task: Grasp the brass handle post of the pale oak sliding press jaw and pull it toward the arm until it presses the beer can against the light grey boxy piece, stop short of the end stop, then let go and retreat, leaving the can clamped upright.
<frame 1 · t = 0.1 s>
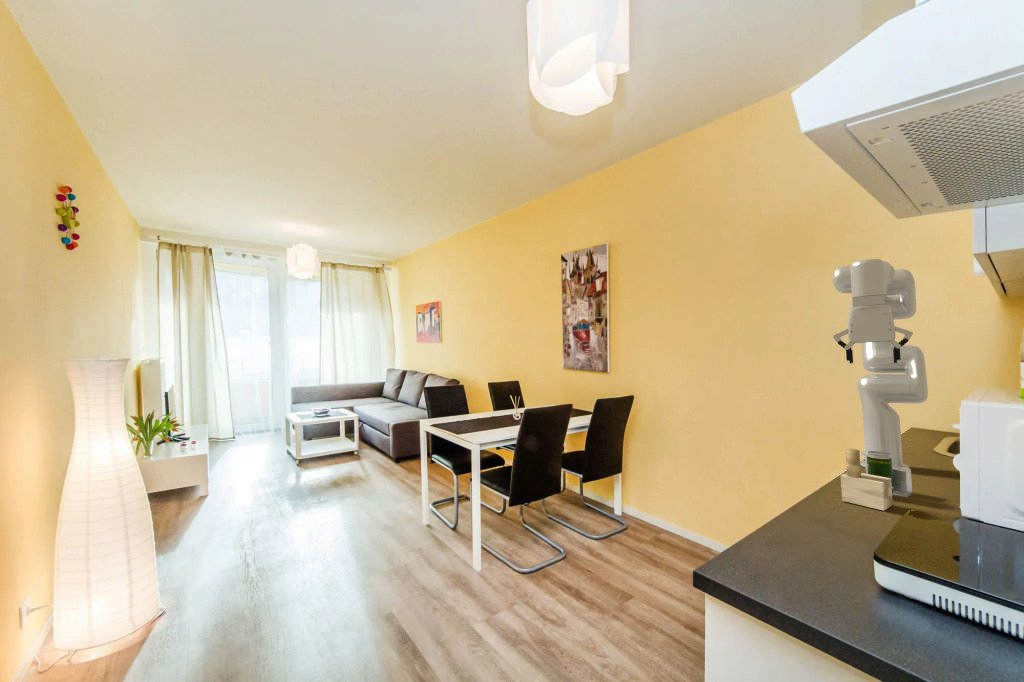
hand: (872, 363, 121), 37 cm above the kitchen counter, tool pointing down, fingers open, 9 cm apart
ram: (865, 476, 114), point 7 cm above the kitchen counter, slide at 0.0 cm
beer can: (881, 496, 119), on the kitchen counter
light grey boxy piece: (889, 491, 122), on the kitchen counter
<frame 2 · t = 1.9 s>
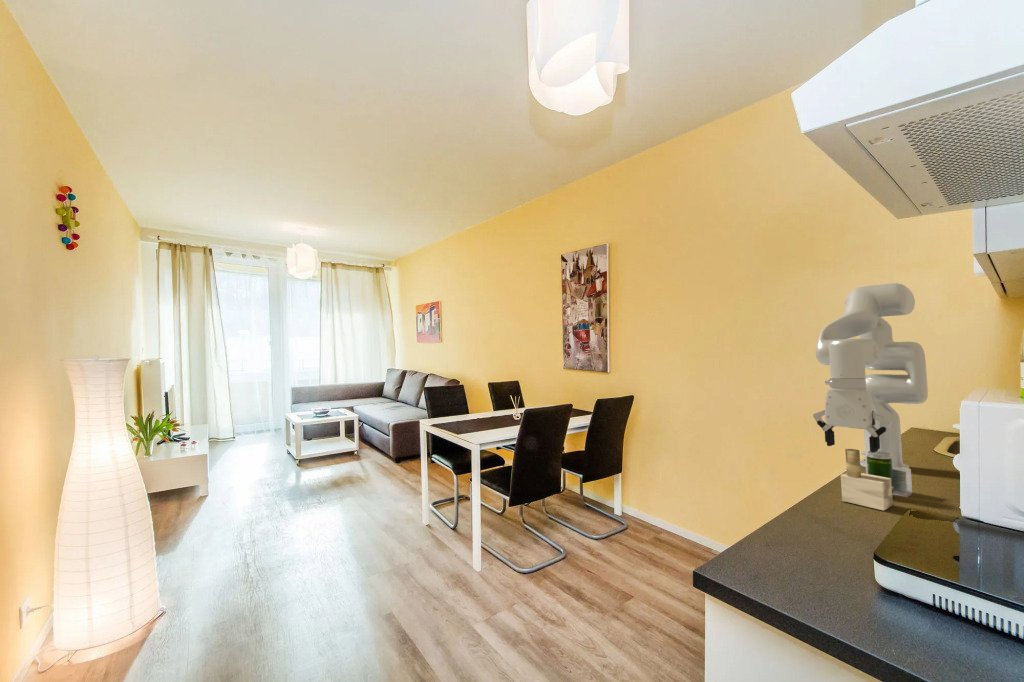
hand: (851, 448, 115), 15 cm above the kitchen counter, tool pointing down, fingers open, 9 cm apart
nothing on the kitchen counter moved.
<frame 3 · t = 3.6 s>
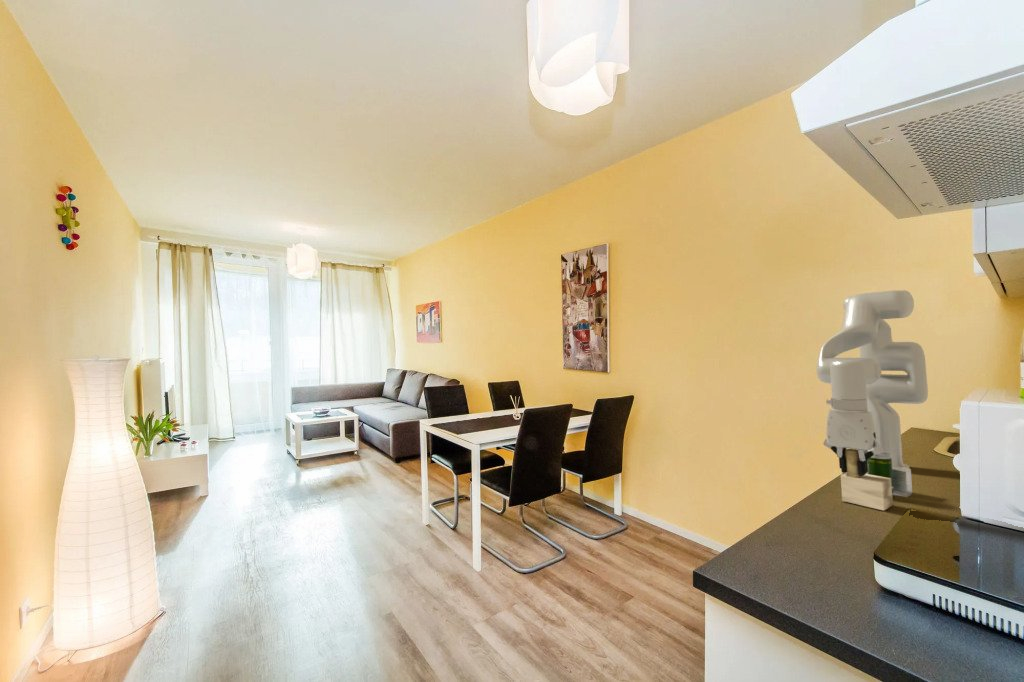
hand: (853, 472, 115), 8 cm above the kitchen counter, tool pointing down, fingers closed on ram, 3 cm apart
ram: (865, 476, 114), point 7 cm above the kitchen counter, slide at 0.0 cm, touching gripper
everything else where it was.
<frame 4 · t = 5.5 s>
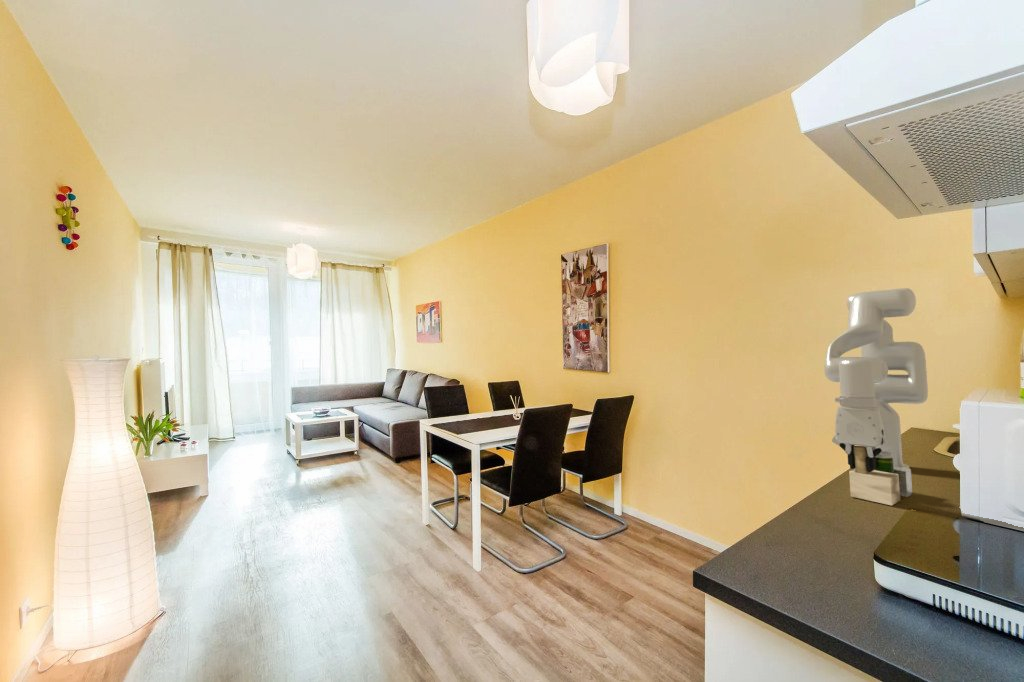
hand: (861, 468, 118), 8 cm above the kitchen counter, tool pointing down, fingers closed on ram, 3 cm apart
ram: (873, 472, 117), point 7 cm above the kitchen counter, slide at 5.5 cm, touching beer can, gripper
beer can: (882, 495, 120), on the kitchen counter, touching ram
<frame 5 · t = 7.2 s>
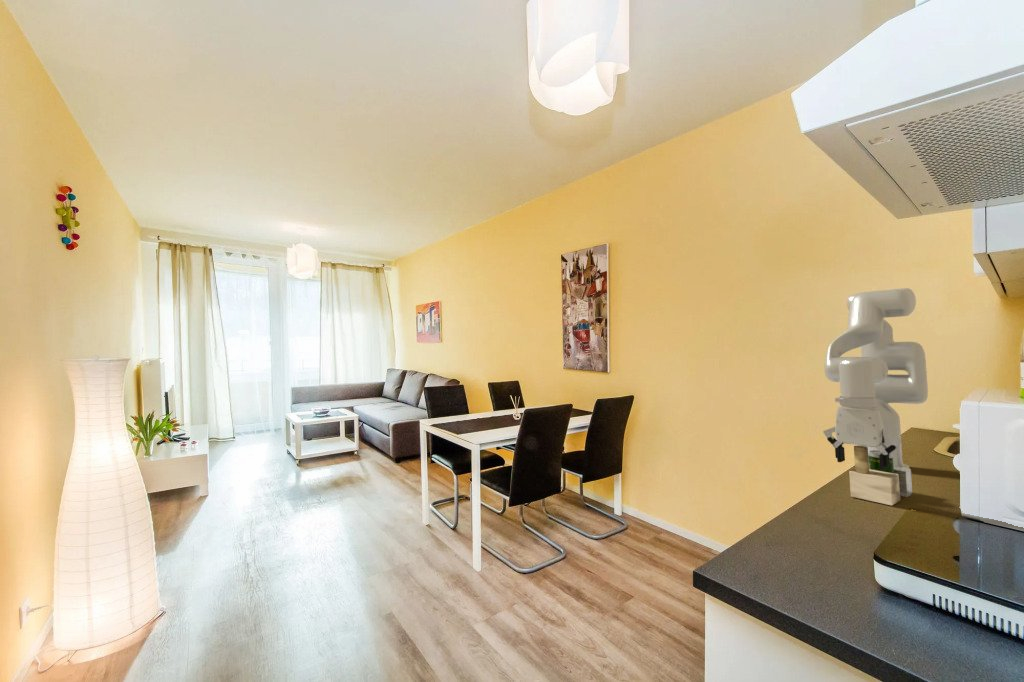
hand: (861, 464, 118), 9 cm above the kitchen counter, tool pointing down, fingers open, 9 cm apart
ram: (873, 472, 117), point 7 cm above the kitchen counter, slide at 5.5 cm
beer can: (882, 495, 120), on the kitchen counter
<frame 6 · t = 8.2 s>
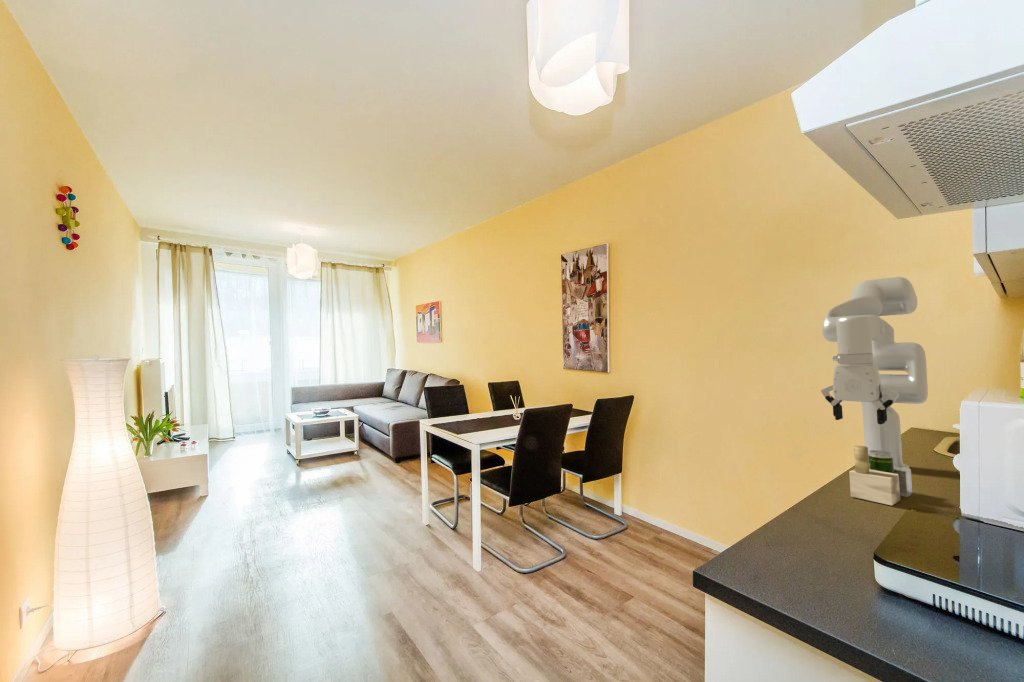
hand: (859, 421, 118), 21 cm above the kitchen counter, tool pointing down, fingers open, 9 cm apart
nothing on the kitchen counter moved.
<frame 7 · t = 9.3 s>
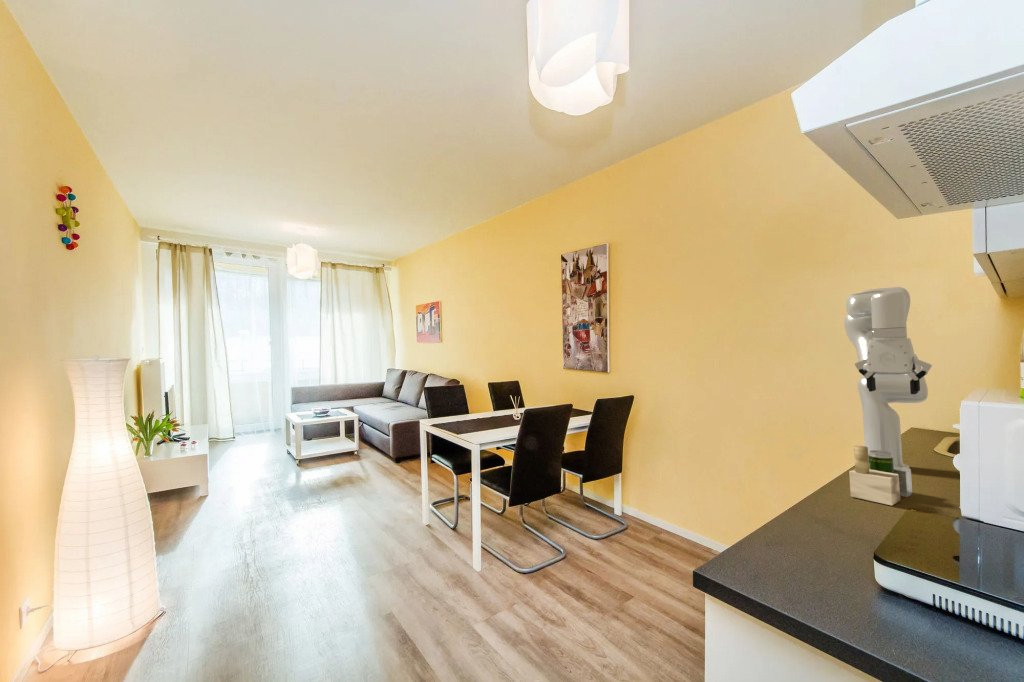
hand: (892, 392, 125), 28 cm above the kitchen counter, tool pointing down, fingers open, 9 cm apart
nothing on the kitchen counter moved.
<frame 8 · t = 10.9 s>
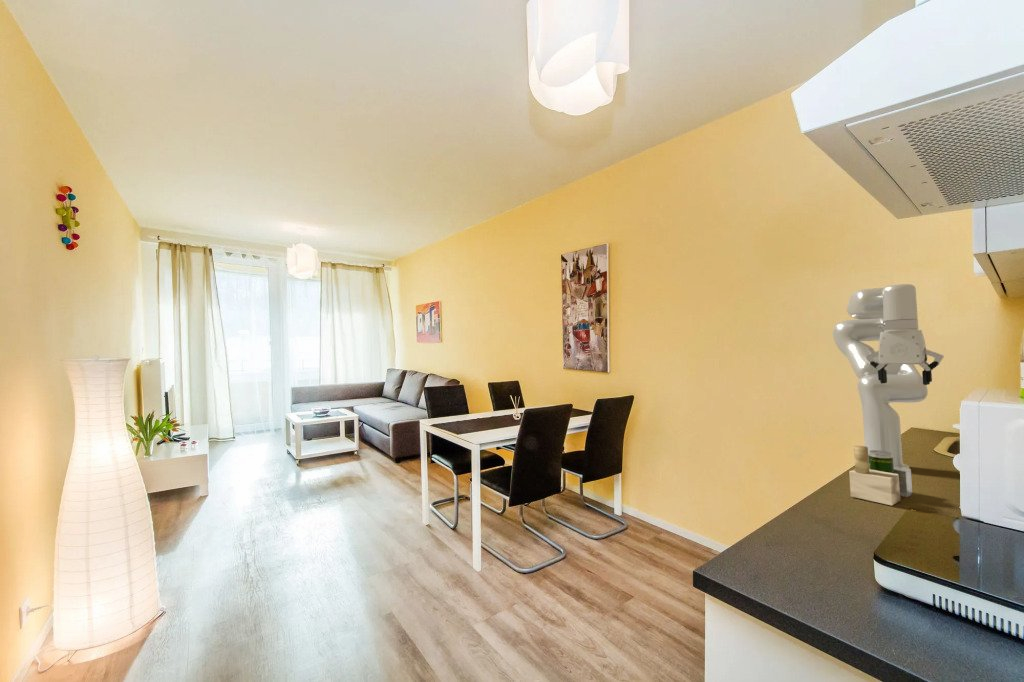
hand: (904, 383, 126), 30 cm above the kitchen counter, tool pointing down, fingers open, 9 cm apart
nothing on the kitchen counter moved.
at the end: ram slide at 5.5 cm; beer can tilted 0°; beer can 4.8 cm from the light grey boxy piece (horizontally) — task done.
